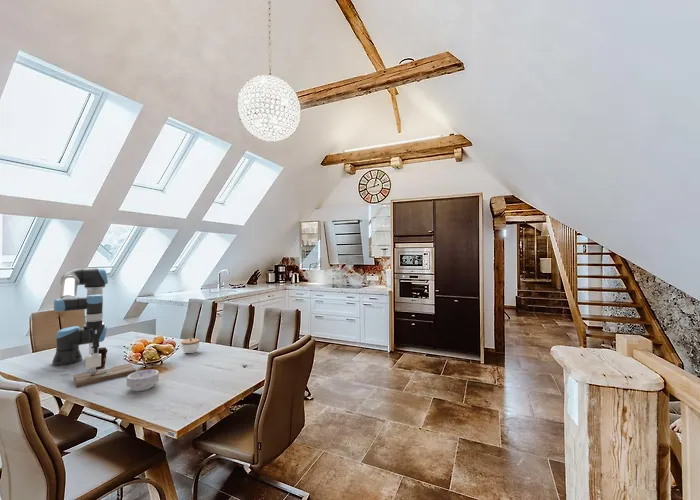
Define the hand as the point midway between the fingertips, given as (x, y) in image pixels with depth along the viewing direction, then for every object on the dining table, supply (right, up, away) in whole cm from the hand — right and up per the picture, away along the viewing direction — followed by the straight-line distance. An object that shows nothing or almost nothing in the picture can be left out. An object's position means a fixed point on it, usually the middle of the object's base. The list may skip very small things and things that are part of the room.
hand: (93, 355), depth 184 cm
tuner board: (+4, -14, +4) cm, 15 cm away
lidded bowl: (+32, -15, +51) cm, 62 cm away
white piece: (+2, -11, +2) cm, 12 cm away
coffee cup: (-11, -14, +17) cm, 25 cm away
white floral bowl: (+37, -15, -10) cm, 41 cm away
